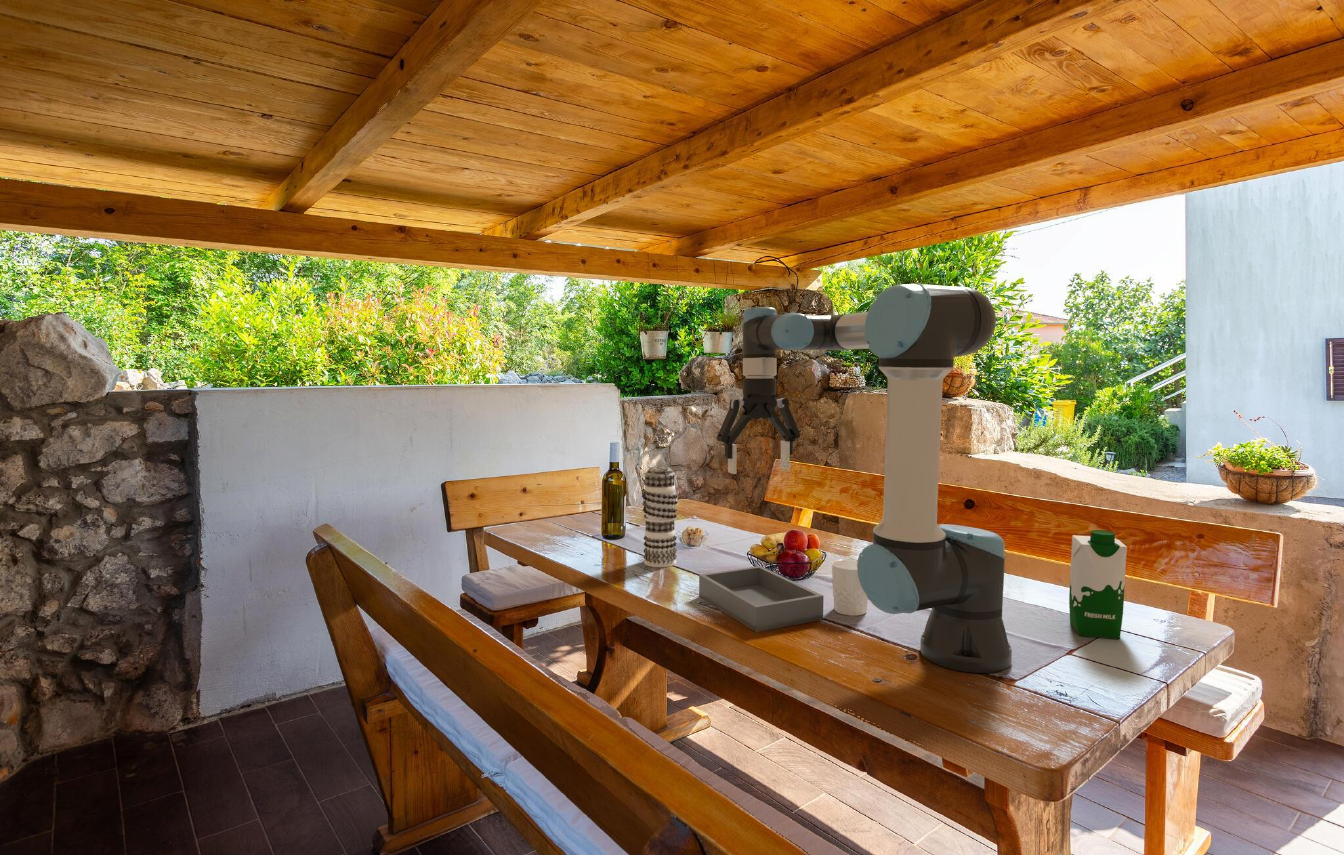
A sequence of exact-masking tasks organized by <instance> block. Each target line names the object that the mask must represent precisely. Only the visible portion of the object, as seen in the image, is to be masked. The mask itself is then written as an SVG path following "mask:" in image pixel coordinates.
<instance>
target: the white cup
mask: <svg viewBox="0 0 1344 855" xmlns="http://www.w3.org/2000/svg"><path fill="white" fill-rule="evenodd" d="M857 562H858V559H853V558H852V559H850V558H846V559H845V558H844V559H836V560H833V561H832V562H831V568H832V569H831V570H832V571H831V573H832V574H831V575H832V595H833V610H834V611H835V612H836V613H838V614H841V615H845V616H849V617H850V616H856V617H857V616H863V615H865V614H867V612H868V601H869V599H868V597H867V595H866V593H865V592H864V591H863V589H862V586H861V584H860V581H859V577H858V571H857Z"/></svg>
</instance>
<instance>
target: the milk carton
mask: <svg viewBox="0 0 1344 855" xmlns="http://www.w3.org/2000/svg"><path fill="white" fill-rule="evenodd" d="M1071 538H1072V539H1071V554H1070V555H1071V557H1070V558H1071V559H1070V571H1069V572H1070V574H1069V594H1068V595H1069V597H1068V598H1069V599H1068V601H1069V602H1068V603H1069V604H1068V606H1069V607H1068V608H1069V623H1070V625H1071V626H1072V628H1073V629H1074V630H1075V632H1076V634H1077V635H1078V636H1080V637H1088V638H1089V637H1090V638H1102V639H1114V640H1120V639H1121V635H1122V634H1121V633H1122V624H1123V617H1124V604H1125V603H1124V602H1125V587H1126V586H1125V583H1126V569H1127V567H1126V565H1127V552H1128V546H1126V545H1125V544H1124V543H1123V542H1122V541H1121V539H1117V538H1116V533H1115V532H1112V531H1109V530H1104V529H1103V530H1102V529H1095V530H1091V531H1090V535H1078V534H1077V535H1075V534H1073V535H1072V536H1071Z"/></svg>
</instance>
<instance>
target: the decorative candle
mask: <svg viewBox="0 0 1344 855" xmlns="http://www.w3.org/2000/svg"><path fill="white" fill-rule="evenodd" d="M644 475H645V476H644V481H645V482H644V484H645V485H644V488H643V489H642V490H641V492H642V495H641V498H642V499H643V500H644V501H642V506H643V509H642V512H643V513H644V514H643V520H645V530H644V537H643V540H644V543H643V546H644V548H643V553H644V555H643V559H644V562H643V563H644V565H645V566H648V567H653V568H667V567H671V566H675V565H676V564H677V557H678V556H677V554H676V553H677V551H678V550H677V548H676V546H677V542H676V541H677V536H676V528H675V521H676V520H677V517H678V515H677V514H676V512H677V511H678V509H677V508H676V507H675V506H676V505H677V504H678V501H677V500H676V499H677V498H678V495H677V494H675V490H676V485H675V476H676V475H677V474H676V472H674V471H673V469H672V468H671V467H668V466H652V467H649V468H648V470H647V472H645V473H644Z"/></svg>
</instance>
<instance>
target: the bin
mask: <svg viewBox="0 0 1344 855" xmlns="http://www.w3.org/2000/svg"><path fill="white" fill-rule="evenodd" d="M698 597H699V598H700V599H702V600H703V601H705V602H707V603H709V604H710V605H711V606H713V607H715V608H717V609H718V610H720V611H721V612H723V613H725V614H726V615H728V616H729V615H730V616H729V617H731V618H732V617H733V618H732V619H734V620H735V619H736V621H737V622H739V623H741V624H742V625H743V626H745V627H747V628H749V630H751V629H752V630H751V631H753V630H754V631H753V632H755V633H760V632H765V631H771V630H774V629H780V628H787V627H791V626H797V625H802V624H807V623H813V622H818V621H822V620H823V621H824V597H825V596H824V595H823V594H820V593H818V592H817V591H814V590H812V589H810V588H807V587H806V586H804V585H802V584H800V583H798V582H795V581H794V580H791V579H789V578H786V577H785V576H783V575H780V574H778V573H776V572H775V571H772V570H769V569H768V568H765V567H764V566H761V565H758V566H750V567H744V568H736V569H731V570H730V569H729V570H725V571H724V570H722V571H715V572H709V573H703V574H698Z"/></svg>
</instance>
